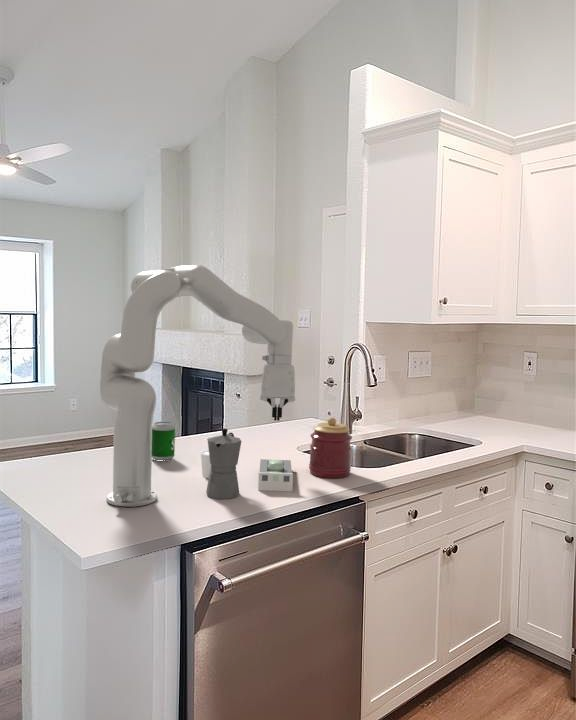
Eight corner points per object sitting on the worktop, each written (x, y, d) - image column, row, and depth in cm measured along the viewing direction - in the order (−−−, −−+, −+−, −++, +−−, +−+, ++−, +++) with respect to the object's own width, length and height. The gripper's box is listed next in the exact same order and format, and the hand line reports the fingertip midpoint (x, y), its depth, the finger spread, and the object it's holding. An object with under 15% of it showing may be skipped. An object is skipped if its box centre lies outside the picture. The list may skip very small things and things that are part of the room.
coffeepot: (233, 503, 157) (235, 434, 156) (198, 500, 159) (200, 432, 157) (247, 486, 172) (249, 424, 171) (214, 484, 174) (216, 421, 172)
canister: (358, 476, 188) (361, 420, 186) (323, 480, 181) (325, 422, 180) (335, 466, 199) (337, 413, 198) (301, 470, 193) (303, 415, 191)
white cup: (201, 479, 178) (202, 455, 178) (199, 473, 185) (199, 450, 184) (225, 478, 180) (225, 455, 179) (221, 472, 187) (222, 449, 186)
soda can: (168, 463, 195) (169, 426, 195) (147, 461, 197) (147, 424, 196) (177, 457, 203) (178, 422, 202) (156, 455, 204) (157, 420, 203)
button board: (292, 491, 169) (293, 474, 169) (258, 490, 169) (258, 472, 169) (290, 469, 193) (290, 454, 192) (260, 468, 193) (260, 453, 192)
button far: (282, 472, 186) (282, 463, 186) (268, 471, 186) (268, 462, 186) (282, 468, 190) (282, 459, 190) (268, 468, 190) (268, 459, 190)
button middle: (283, 474, 179) (283, 464, 179) (268, 473, 179) (268, 464, 179) (282, 470, 183) (283, 460, 183) (268, 469, 183) (268, 460, 183)
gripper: (254, 360, 182) (251, 421, 183) (304, 362, 182) (301, 423, 183) (255, 358, 189) (252, 416, 190) (303, 360, 189) (300, 418, 191)
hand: (276, 419), depth 187 cm, fingers closed
